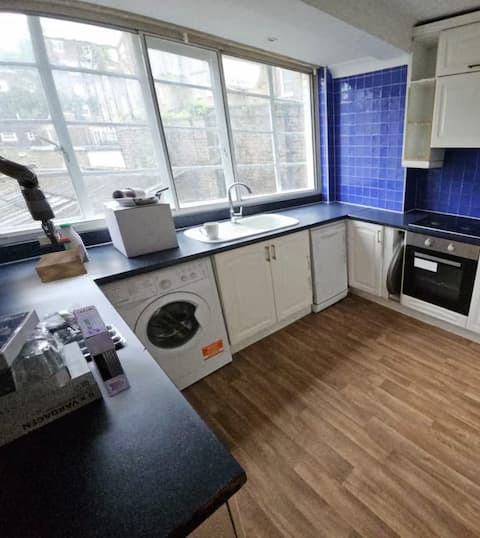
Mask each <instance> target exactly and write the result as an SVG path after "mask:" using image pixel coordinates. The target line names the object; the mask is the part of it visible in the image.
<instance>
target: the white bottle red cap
mask: <svg viewBox="0 0 480 538" xmlns="http://www.w3.org/2000/svg"><path fill="white" fill-rule="evenodd" d="M51 235H52V234H51ZM55 236H56V239H57V241H58V243H59V244H58V245H57V246H60V245H61V246H62V245H64V244H67V243H71V242H72V240H71V239H70V237H63V238H62V237H61V236H60V233H58V232H57V234H55ZM37 240H38V242H39V243H40V244H39V247H40V248H41V249H42V248H48V247H55V246H56V245H52V243H51V241H50V239H49V238H47V236H46V234H44V235H39V236H38V237H37Z"/></svg>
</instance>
